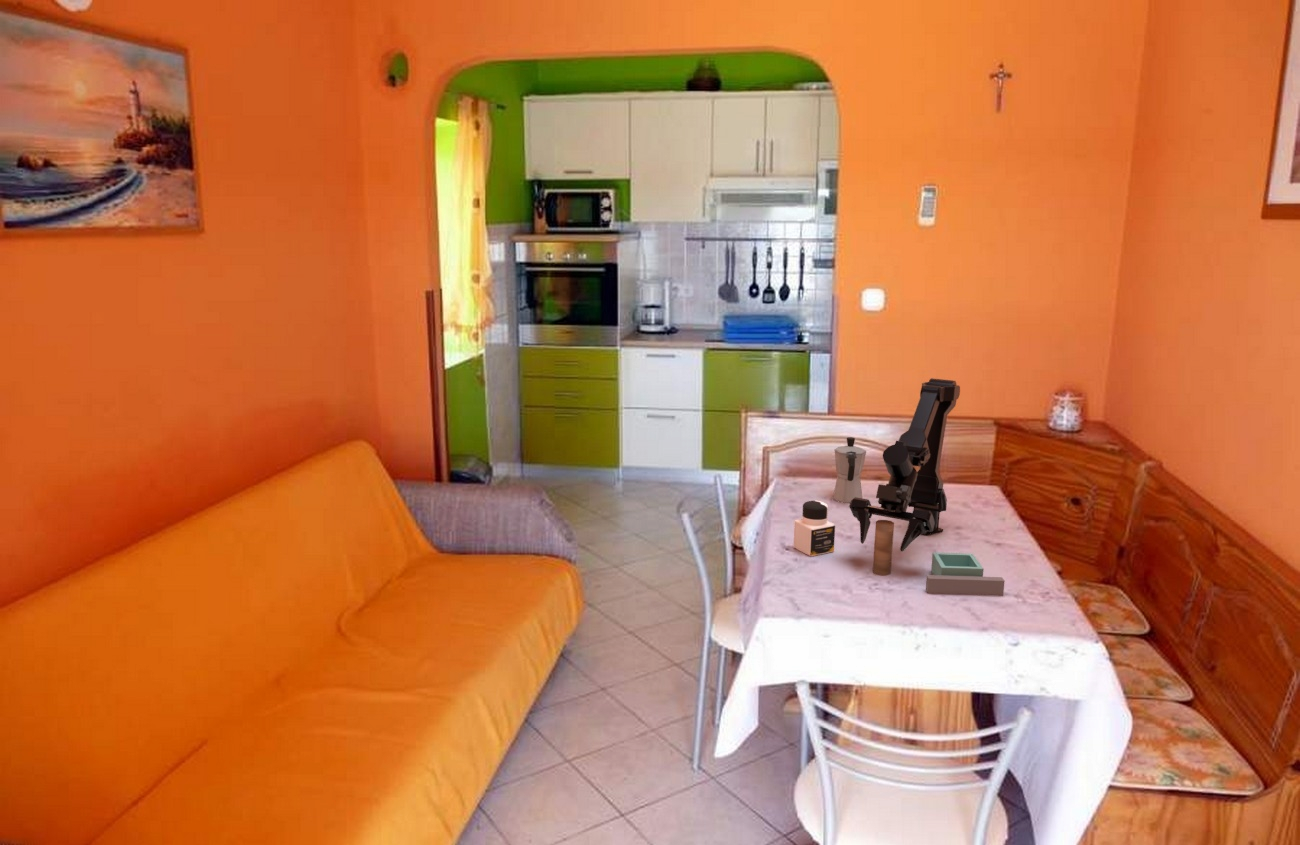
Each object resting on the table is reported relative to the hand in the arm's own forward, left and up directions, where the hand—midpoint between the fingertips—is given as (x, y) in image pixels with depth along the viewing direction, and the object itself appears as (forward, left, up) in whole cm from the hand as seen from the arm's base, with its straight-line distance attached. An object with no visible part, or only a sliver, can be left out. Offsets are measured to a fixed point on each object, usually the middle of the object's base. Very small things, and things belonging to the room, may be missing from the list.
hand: (881, 546), depth 213 cm
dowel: (-1, -1, -7) cm, 7 cm away
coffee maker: (-31, -45, -7) cm, 55 cm away
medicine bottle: (+3, -20, -7) cm, 21 cm away
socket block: (-13, +11, -7) cm, 18 cm away
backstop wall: (-8, +17, -7) cm, 20 cm away
